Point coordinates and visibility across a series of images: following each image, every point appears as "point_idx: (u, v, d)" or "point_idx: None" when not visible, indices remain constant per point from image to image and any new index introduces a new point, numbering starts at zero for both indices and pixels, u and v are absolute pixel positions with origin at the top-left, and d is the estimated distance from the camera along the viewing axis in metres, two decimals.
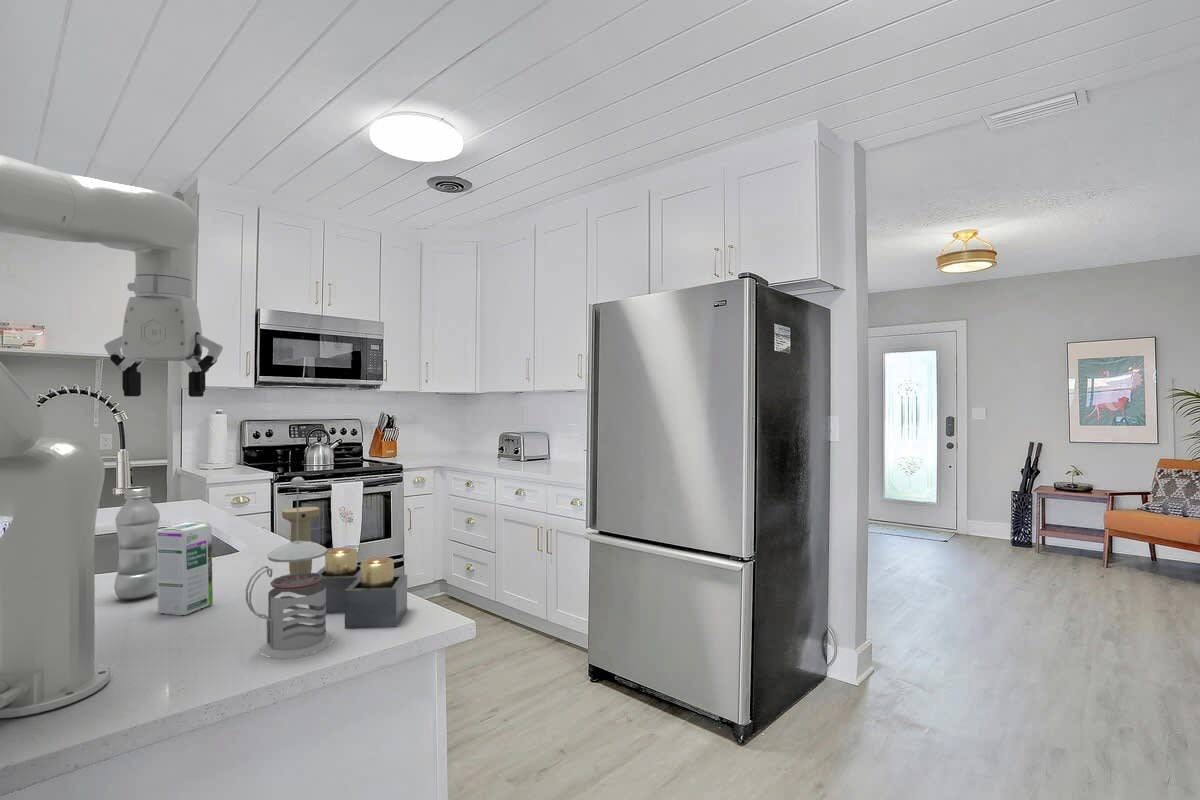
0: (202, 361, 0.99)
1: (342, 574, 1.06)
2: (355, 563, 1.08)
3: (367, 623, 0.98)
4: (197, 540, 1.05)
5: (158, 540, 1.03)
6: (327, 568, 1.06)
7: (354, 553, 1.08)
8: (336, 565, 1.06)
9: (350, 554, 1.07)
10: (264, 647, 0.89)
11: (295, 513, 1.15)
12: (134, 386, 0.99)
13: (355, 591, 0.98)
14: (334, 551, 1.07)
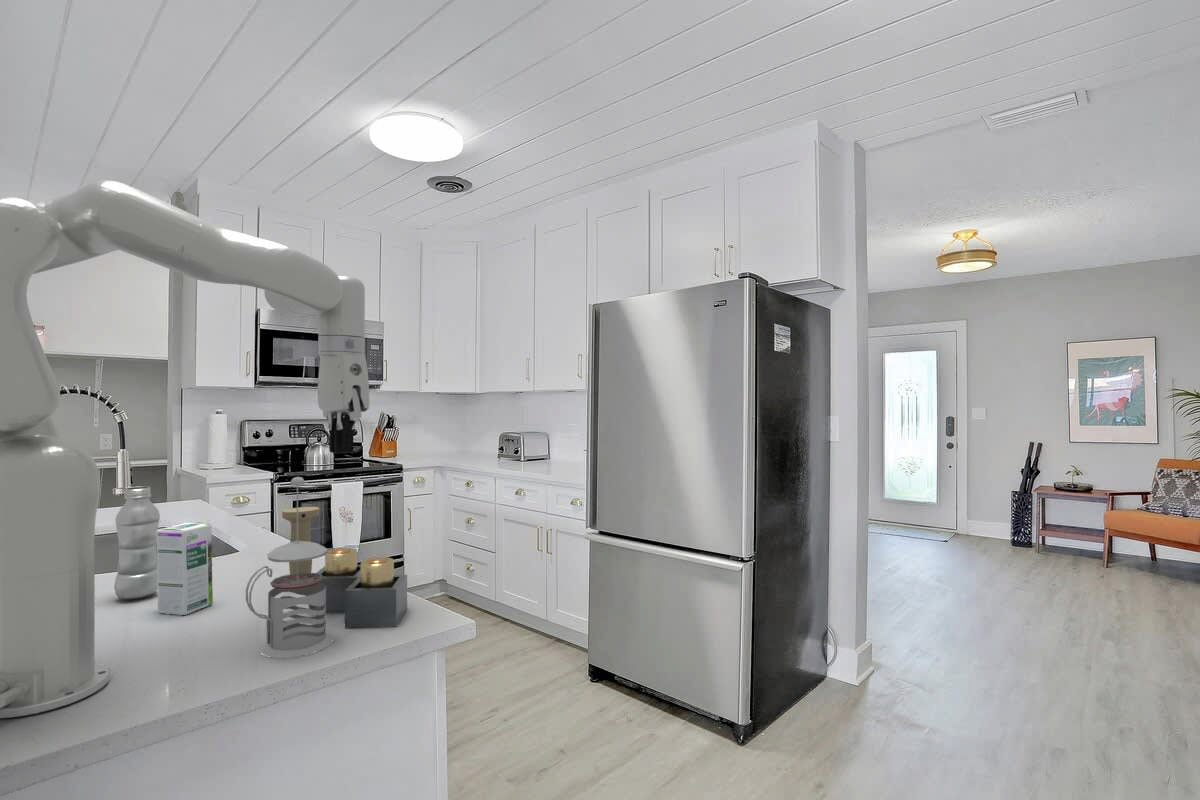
0: None
1: (342, 574, 1.06)
2: (355, 563, 1.08)
3: (367, 623, 0.98)
4: (197, 540, 1.05)
5: (158, 540, 1.03)
6: (327, 568, 1.06)
7: (354, 553, 1.08)
8: (336, 565, 1.06)
9: (350, 554, 1.07)
10: (264, 647, 0.89)
11: (295, 513, 1.15)
12: None
13: (355, 591, 0.98)
14: (334, 551, 1.07)
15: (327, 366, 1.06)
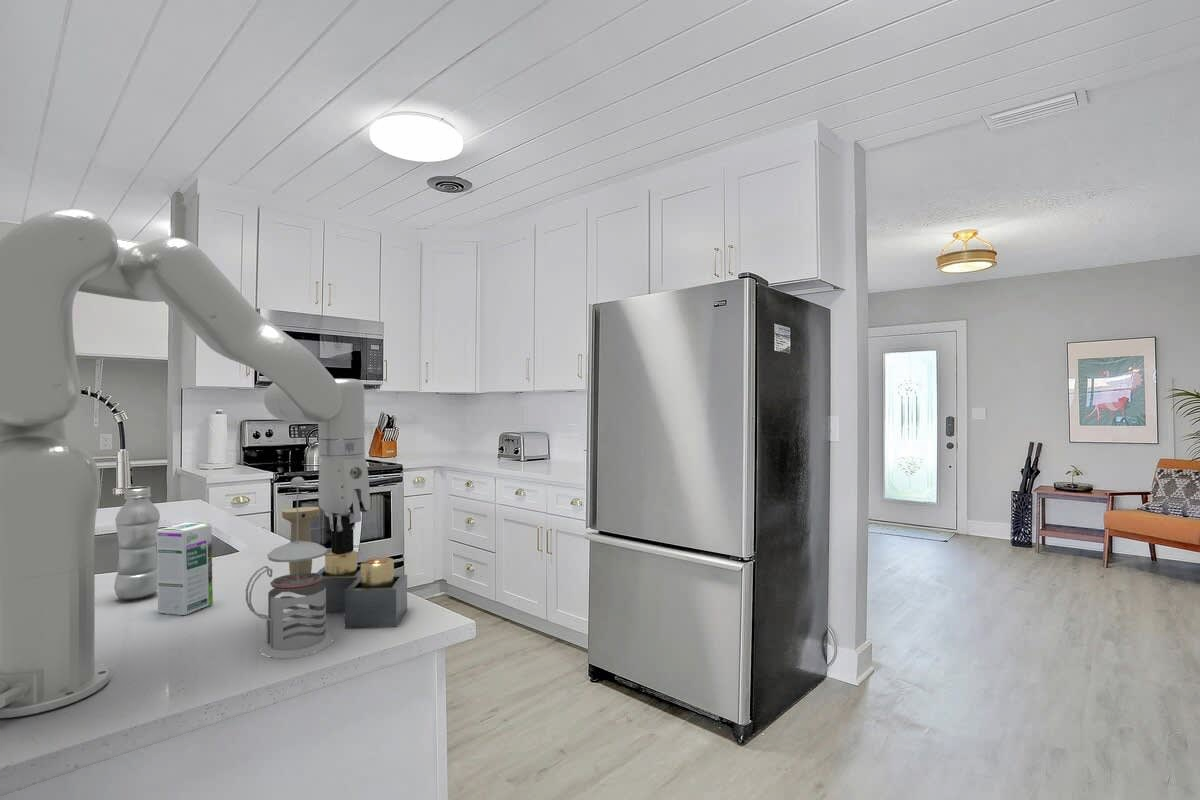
0: None
1: None
2: (355, 565, 1.08)
3: (367, 623, 0.98)
4: (197, 540, 1.05)
5: (158, 540, 1.03)
6: (327, 570, 1.06)
7: (354, 555, 1.08)
8: (336, 568, 1.06)
9: (350, 556, 1.07)
10: (264, 647, 0.89)
11: (295, 513, 1.15)
12: None
13: (355, 591, 0.98)
14: (334, 553, 1.07)
15: (327, 469, 1.06)
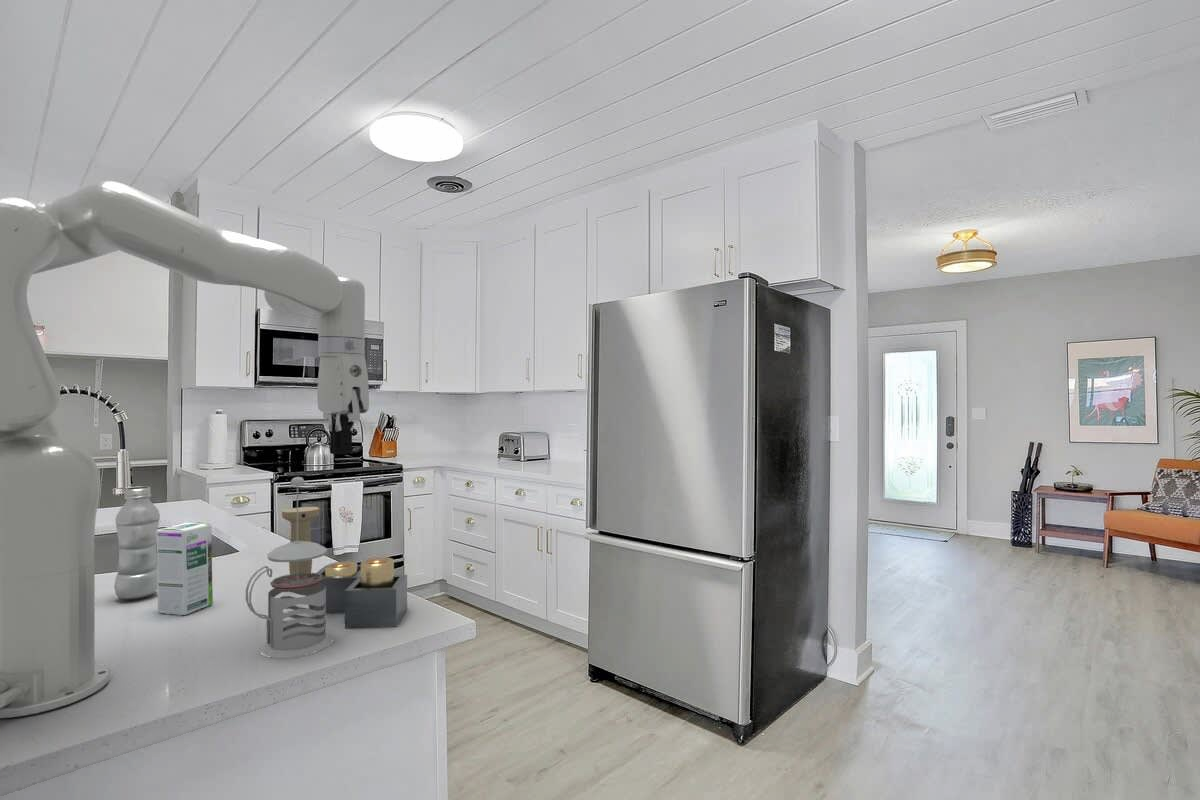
0: None
1: None
2: None
3: (367, 623, 0.98)
4: (197, 540, 1.05)
5: (158, 540, 1.03)
6: None
7: (354, 567, 1.08)
8: None
9: (350, 568, 1.07)
10: (264, 647, 0.89)
11: (295, 513, 1.15)
12: None
13: (355, 591, 0.98)
14: (334, 565, 1.07)
15: (326, 368, 1.06)
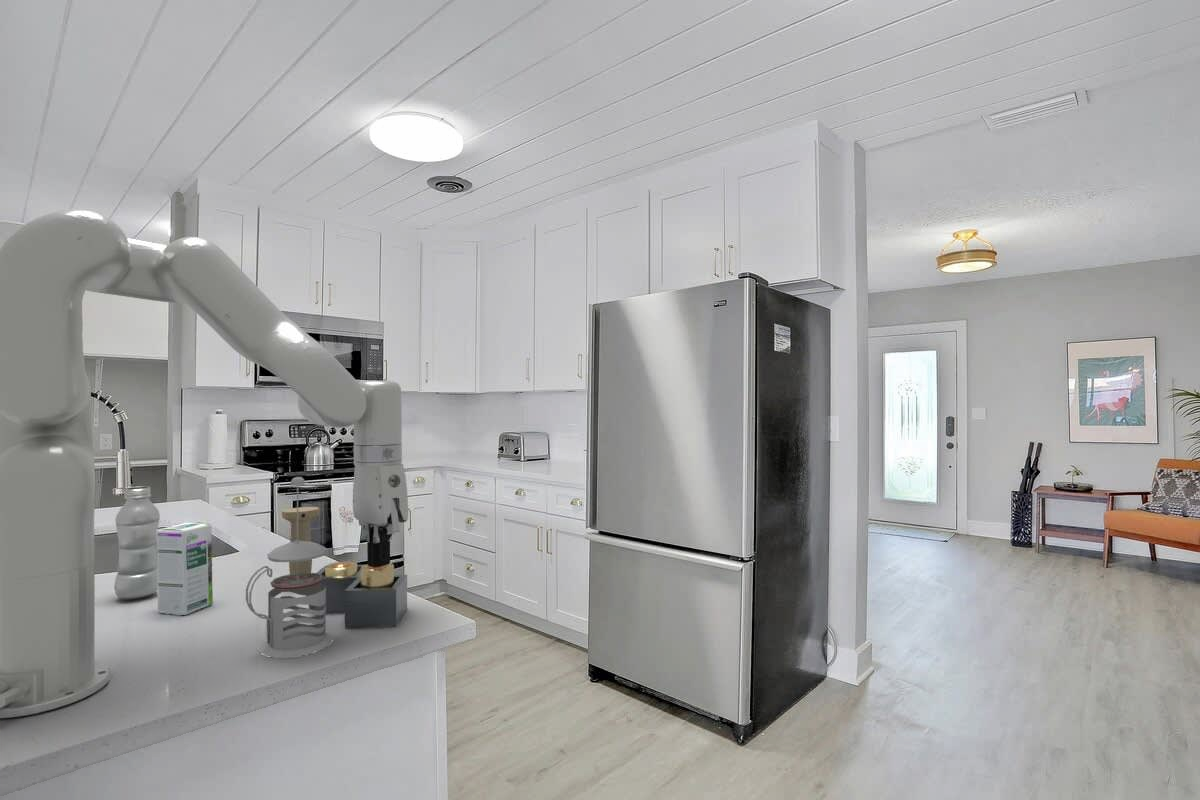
0: None
1: None
2: None
3: (367, 623, 0.98)
4: (197, 540, 1.05)
5: (158, 540, 1.03)
6: None
7: (354, 567, 1.08)
8: None
9: (350, 568, 1.07)
10: (264, 647, 0.89)
11: (295, 513, 1.15)
12: None
13: (355, 591, 0.98)
14: (334, 565, 1.07)
15: (363, 477, 1.00)
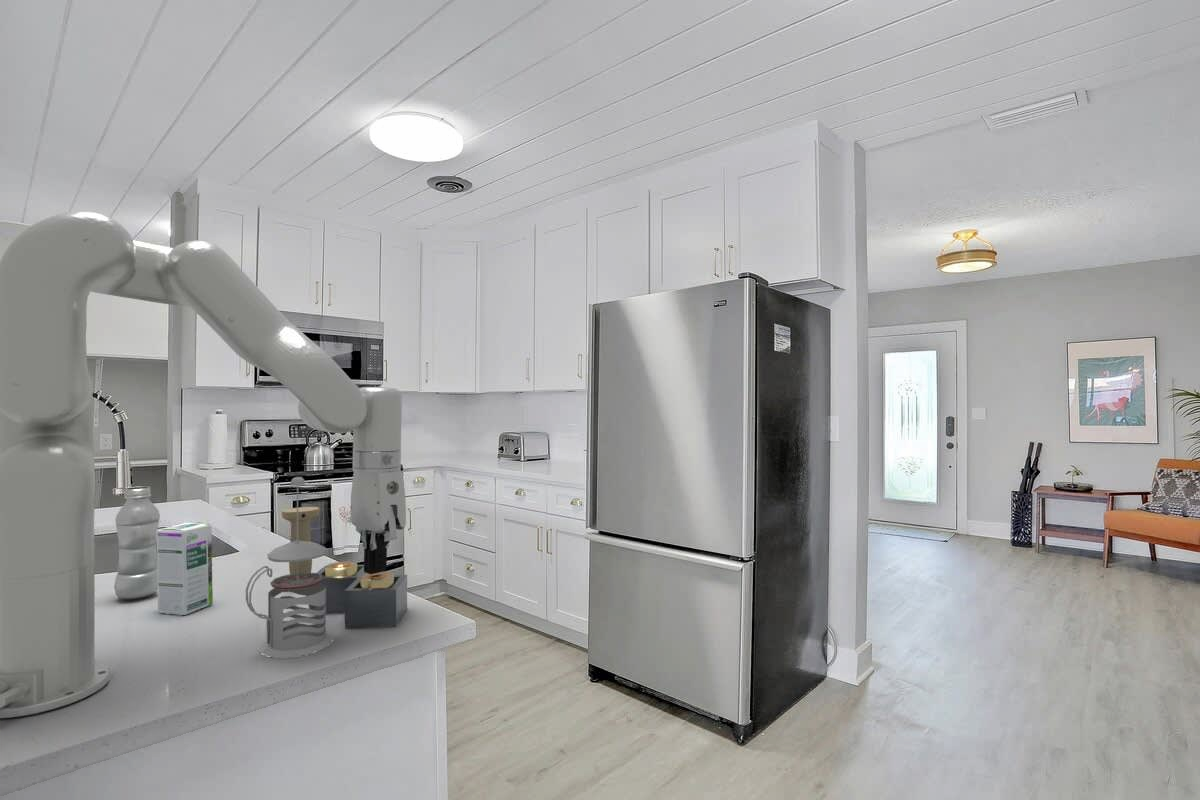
0: None
1: None
2: None
3: (367, 623, 0.98)
4: (197, 540, 1.05)
5: (158, 540, 1.03)
6: None
7: (354, 567, 1.08)
8: None
9: (350, 568, 1.07)
10: (264, 647, 0.89)
11: (295, 513, 1.15)
12: None
13: (355, 591, 0.98)
14: (334, 565, 1.07)
15: (361, 483, 1.00)
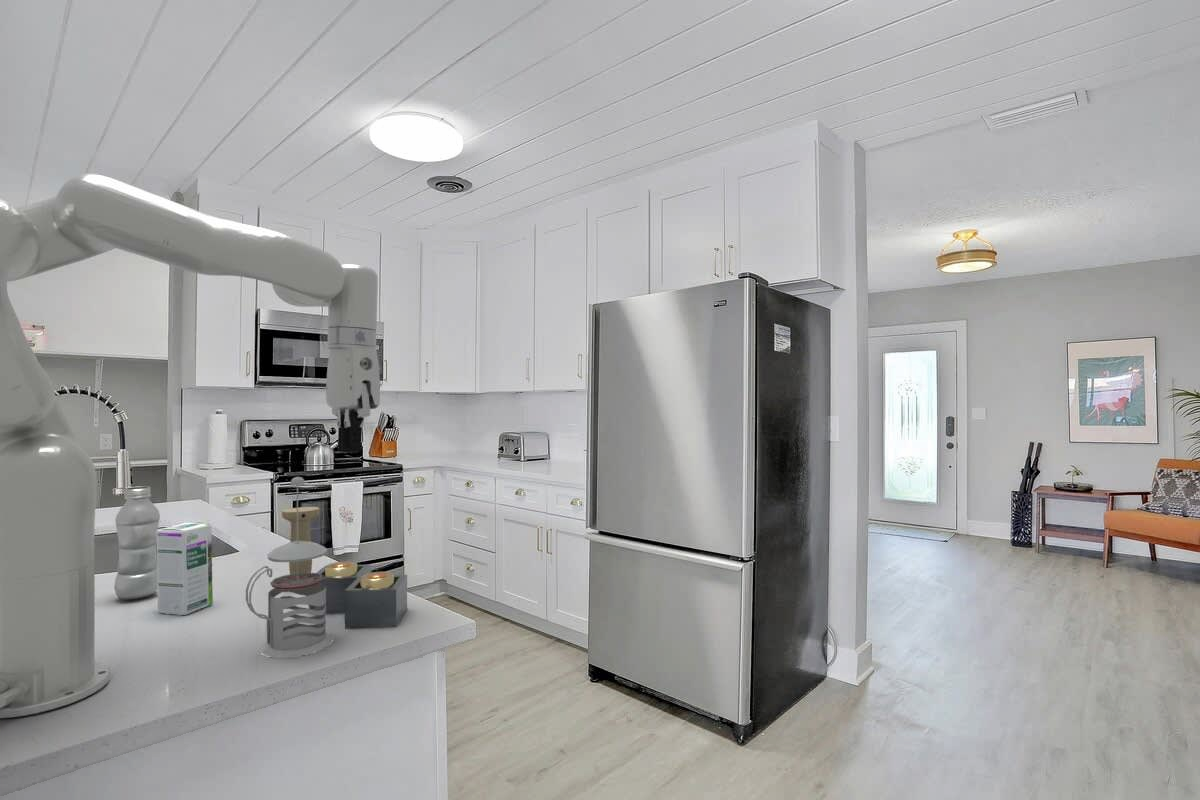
0: None
1: None
2: None
3: (367, 623, 0.98)
4: (197, 540, 1.05)
5: (158, 540, 1.03)
6: None
7: (354, 567, 1.08)
8: None
9: (350, 568, 1.07)
10: (264, 647, 0.89)
11: (295, 513, 1.15)
12: None
13: (355, 591, 0.98)
14: (334, 565, 1.07)
15: (336, 360, 1.00)
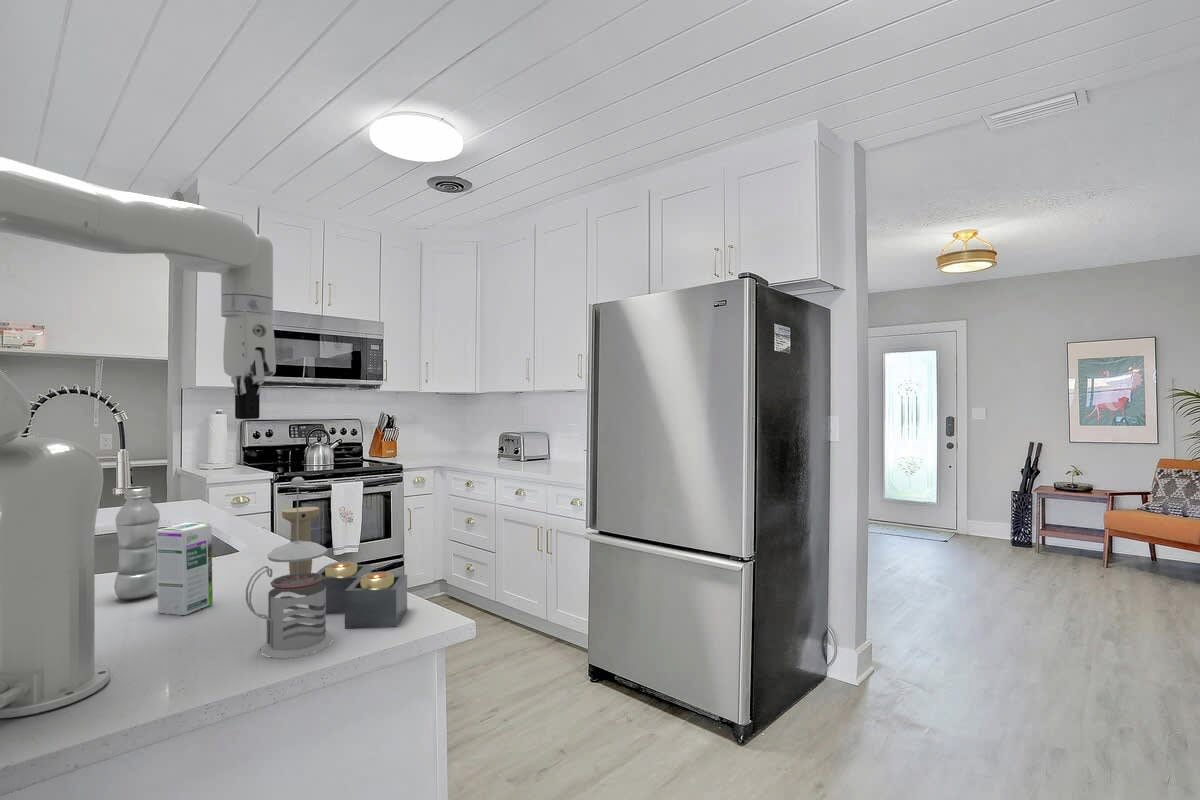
0: None
1: None
2: None
3: (367, 623, 0.98)
4: (197, 540, 1.05)
5: (158, 540, 1.03)
6: None
7: (354, 567, 1.08)
8: None
9: (350, 568, 1.07)
10: (264, 647, 0.89)
11: (295, 513, 1.15)
12: None
13: (355, 591, 0.98)
14: (334, 565, 1.07)
15: (230, 328, 1.01)
